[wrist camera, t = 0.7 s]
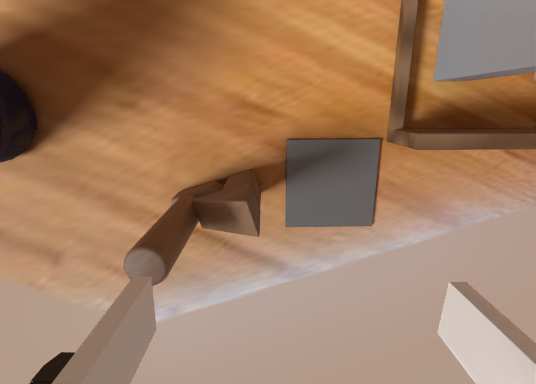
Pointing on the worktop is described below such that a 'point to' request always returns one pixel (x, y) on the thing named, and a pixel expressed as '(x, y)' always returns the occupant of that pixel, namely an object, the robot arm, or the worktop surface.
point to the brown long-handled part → (189, 214)
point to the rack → (439, 136)
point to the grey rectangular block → (486, 39)
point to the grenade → (14, 119)
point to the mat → (331, 182)
